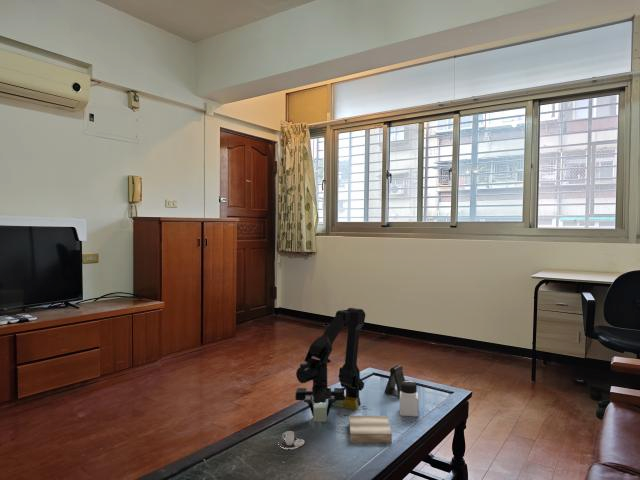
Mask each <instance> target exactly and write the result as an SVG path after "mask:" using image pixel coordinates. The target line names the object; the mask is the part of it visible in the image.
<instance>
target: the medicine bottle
mask: <svg viewBox="0 0 640 480" xmlns="http://www.w3.org/2000/svg"><path fill="white" fill-rule="evenodd" d="M417 388H418V387H417V383H416V382H414V381H412V380H405V381H404V382H402V383H401V391H400V397H399V416H401V417H403V416H404V417H415V418H417V417H419V393H418V391H417V390H418V389H417Z"/></svg>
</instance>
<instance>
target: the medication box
mask: <svg viewBox="0 0 640 480" xmlns="http://www.w3.org/2000/svg"><path fill="white" fill-rule="evenodd" d="M332 406H334V407H340V408H343V409H345V408H346V409H350V410H354V411H357V410H358V408H359V405H358V399H357V398H352V397H346V395H345V400H343V401H341V400H336V402H333V404H332Z"/></svg>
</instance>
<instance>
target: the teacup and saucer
mask: <svg viewBox="0 0 640 480" xmlns="http://www.w3.org/2000/svg"><path fill="white" fill-rule="evenodd" d="M281 437H282V439H284V440H285V441H284V442H285V445H287V446H292V445H293V447H285V446H283V447H281V446H280V447H281V448H280V447H279V448H280V449H282V448H283V450H288V449H290V450H296V449H297V448H300V447H302V446H303V445H304V444H305V440H304V439H302V438H296V437H295V432H294V431H292V430H288V431H285V432H283V433H282V436H281ZM294 438H296V439H297V440H294ZM277 445H279V444H277ZM284 447H285V448H284Z"/></svg>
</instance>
